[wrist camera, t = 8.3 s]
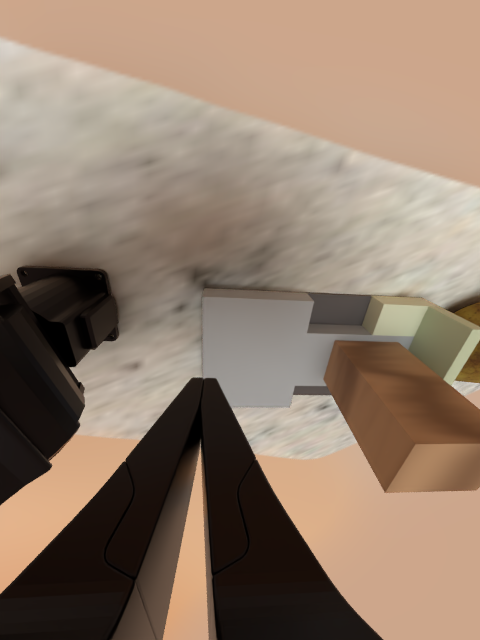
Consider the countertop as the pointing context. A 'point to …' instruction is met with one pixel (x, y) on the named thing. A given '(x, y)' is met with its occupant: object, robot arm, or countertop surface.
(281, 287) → the countertop surface
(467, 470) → the walnut block
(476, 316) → the potato
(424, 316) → the trap board
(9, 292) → the robot arm
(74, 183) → the countertop surface
